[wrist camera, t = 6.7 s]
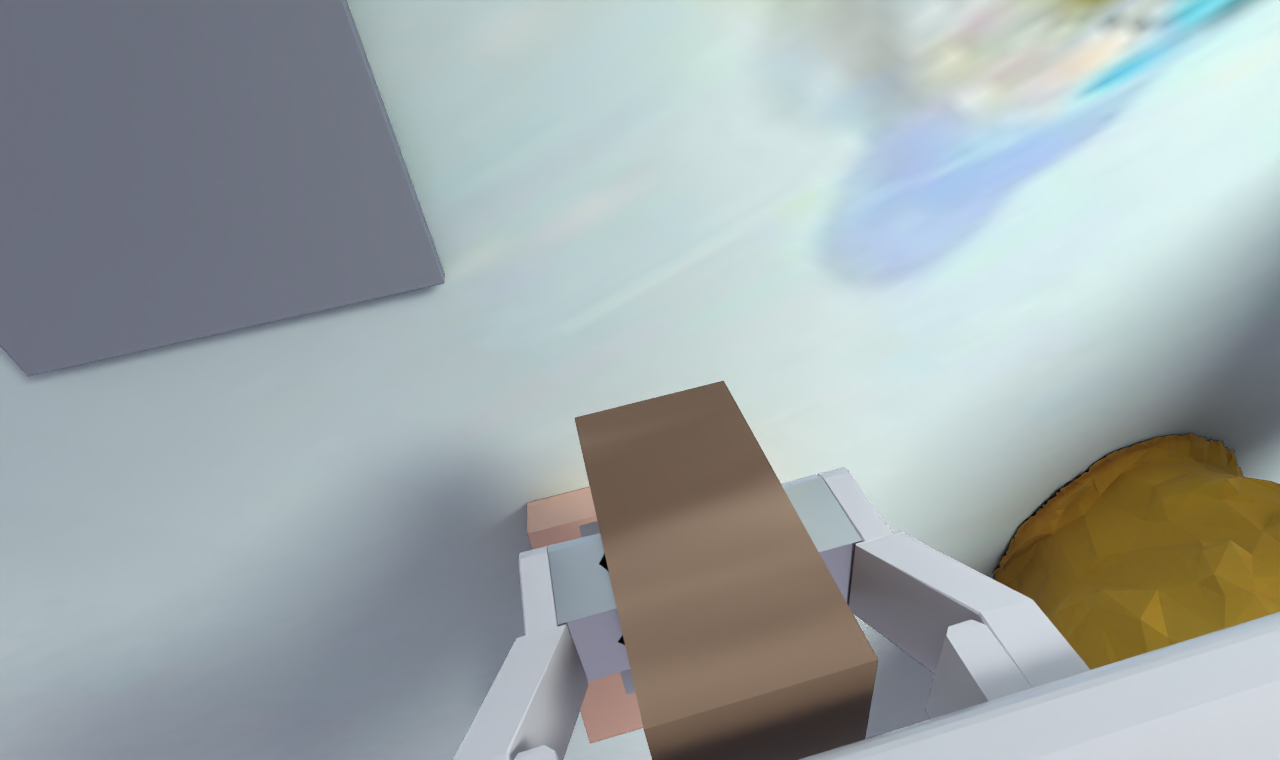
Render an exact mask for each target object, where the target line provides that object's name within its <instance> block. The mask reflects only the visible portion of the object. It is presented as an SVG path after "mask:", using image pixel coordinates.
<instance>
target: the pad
mask: <svg viewBox="0 0 1280 760" xmlns="http://www.w3.org/2000/svg"><path fill="white" fill-rule="evenodd" d="M444 277H445V274H444V271H443V268H442V266H441V263H440V260H439V257H438V254H437V252H436V249H435V246H434V243H433V241H432V238H431V235H430V232H429V229H428V227H427V224H426V221H425V218H424V216H423V213H422V210H421V207H420V204H419V202H418V199H417V196H416V193H415V191H414V188H413V185H412V182H411V179H410V177H409V174H408V171H407V168H406V166H405V163H404V160H403V157H402V155H401V152H400V149H399V146H398V143H397V141H396V138H395V135H394V132H393V130H392V127H391V124H390V121H389V118H388V116H387V113H386V110H385V107H384V105H383V102H382V99H381V96H380V93H379V91H378V88H377V85H376V82H375V80H374V77H373V74H372V71H371V68H370V66H369V63H368V60H367V57H366V55H365V52H364V49H363V46H362V43H361V41H360V38H359V35H358V32H357V30H356V27H355V24H354V21H353V18H352V16H351V13H350V10H349V7H348V5H347V2H346V0H0V346H1V347H2V348H3V349H4V350H5V351H6V352H7V353H8V355H9V356H10V357H11V358H12V359H13V360H14V361H15V362H16V363H17V365H18V366H19V367H20V368H21V369H22V370H23V371H24V372H25V373H26V374H27V376H33V375H37V374H42V373H46V372H51V371H55V370H59V369H64V368H68V367H73V366H77V365H82V364H86V363H91V362H95V361H100V360H104V359H108V358H113V357H117V356H122V355H126V354H131V353H135V352H140V351H144V350H149V349H153V348H157V347H162V346H166V345H171V344H175V343H180V342H184V341H189V340H193V339H198V338H202V337H206V336H211V335H215V334H220V333H224V332H229V331H233V330H238V329H242V328H247V327H251V326H255V325H260V324H264V323H269V322H273V321H278V320H282V319H287V318H291V317H296V316H300V315H304V314H309V313H313V312H318V311H322V310H327V309H331V308H336V307H340V306H345V305H349V304H354V303H358V302H362V301H367V300H371V299H376V298H380V297H385V296H389V295H394V294H398V293H403V292H407V291H411V290H416V289H420V288H425V287H429V286H434V285H438V284H443V283H444Z"/></svg>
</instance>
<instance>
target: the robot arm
mask: <svg viewBox="0 0 1280 760" xmlns="http://www.w3.org/2000/svg"><path fill="white" fill-rule="evenodd" d="M781 485H782V487H783V489H784V491H785V492H786V494H787V496H788V498H789V500H790V501H791V503H792V505H793V507H794V509H795V510H796V512H797V514H798V516H799V518H800V519H801V521H802V523H803V525H804V527H805V528H806V530H807V532H808V534H809V536H810V537H811V539H812V541H813V543H814V545H815V546H816V548H817V550H818V552H819V554H820V555H821V557H822V559H823V561H824V563H825V564H826V566H827V568H828V570H829V572H830V573H831V575H832V577H833V579H834V581H835V583H836V584H837V586H838V588H839V590H840V592H841V593H842V595H843V597H844V599H845V601H846V602H847V604H848V606H849V608H850V610H851V611H852V613H853V614H855V615H856V616H857V617H859V618H860V619H861V620H863V621H864V622H865V623H867V624H868V625H869V626H871V627H872V628H873V629H875V630H876V631H877V632H879V633H880V634H881V635H883V636H884V637H885V638H887V639H888V640H889V641H891V642H892V643H893V644H895V645H896V646H897V647H899V648H900V649H902V650H903V651H904V652H906V653H907V654H908V655H910V656H911V657H912V658H914V659H915V660H916V661H918V662H919V663H920V664H922V665H923V666H924V667H926V668H927V669H928V670H930V671H931V672H932V673H934V674H935V676H934V679H933V683H932V686H931V690H930V693H929V697H928V700H927V704H926V707H925V711H926V712H927V714H928V716H929V718H930V719H929V720H926V721H922V722H919V723H916V724H913V725H909V726H906V727H903V728H900V729H896V730H893V731H890V732H887V733H883V734H880V735H877V736H874V737H870V738H867V739H864V740H861V741H857V742H854V743H851V744H848V745H844V746H841V747H838V748H835V749H831V750H828V751H825V752H822V753H818V754H815V755H812V756H809V757H805V758H802V759H799V760H1280V612H1277V613H1274V614H1271V615H1267V616H1264V617H1261V618H1258V619H1254V620H1251V621H1248V622H1245V623H1241V624H1238V625H1235V626H1232V627H1228V628H1225V629H1222V630H1218V631H1215V632H1212V633H1209V634H1205V635H1202V636H1199V637H1196V638H1192V639H1189V640H1186V641H1183V642H1179V643H1176V644H1173V645H1170V646H1166V647H1163V648H1160V649H1157V650H1153V651H1150V652H1147V653H1144V654H1140V655H1137V656H1134V657H1131V658H1127V659H1124V660H1121V661H1118V662H1114V663H1111V664H1108V665H1105V666H1101V667H1098V668H1095V669H1092V670H1090V669H1089V667H1088V666H1087V665H1086V664H1085V662H1084V661H1083V660H1082V659H1081V658H1080V656H1079V655H1078V654H1077V653H1076V652H1075V650H1074V649H1073V648H1072V647H1071V645H1070V644H1069V643H1068V642H1067V641H1066V639H1065V638H1064V637H1063V636H1062V635H1061V633H1060V632H1059V631H1058V630H1057V628H1056V627H1055V626H1054V625H1053V624H1052V622H1051V621H1050V620H1049V619H1048V617H1047V616H1046V615H1045V614H1044V613H1043V611H1042V610H1041V609H1040V608H1039V607H1038V605H1037V604H1036V603H1035V602H1034V600H1032V599H1030V598H1029V597H1027V596H1025V595H1023V594H1021V593H1019V592H1017V591H1015V590H1013V589H1011V588H1009V587H1007V586H1005V585H1003V584H1001V583H999V582H997V581H996V580H994V579H992V578H990V577H988V576H986V575H984V574H982V573H980V572H978V571H976V570H974V569H972V568H970V567H968V566H966V565H965V564H963V563H961V562H959V561H957V560H955V559H953V558H951V557H949V556H947V555H945V554H943V553H941V552H939V551H937V550H935V549H933V548H932V547H930V546H928V545H926V544H924V543H922V542H920V541H918V540H916V539H914V538H912V537H910V536H908V535H906V534H904V533H902V532H901V531H900V532H896V533H892V532H891V530H890V529H889V527H888V526H887V524H886V523H885V522H884V520H883V519H882V517H881V516H880V514H879V513H878V512H877V510H876V509H875V507H874V506H873V504H872V503H871V502H870V500H869V499H868V497H867V496H866V494H865V493H864V491H863V490H862V489H861V487H860V486H859V484H858V483H857V481H856V480H855V479H854V477H853V476H852V474H851V473H850V471H849V470H847V469H846V468H844V467H843V468H840V469H836V470H832V471H828V472H824V473H821V474H818V475H811V476H808V477H804V478H801V479H797V480H793V481H790V482H786V483H783V484H781ZM518 564H519V575H520V587H521V599H522V611H523V622H524V634H525V635H524V636H521V637H518V638H516V640H515V641H514V643H513V645H512V647H511V649H510V651H509V653H508V655H507V657H506V659H505V661H504V662H503V664H502V666H501V668H500V670H499V672H498V674H497V676H496V678H495V680H494V682H493V683H492V685H491V687H490V689H489V691H488V693H487V695H486V697H485V699H484V701H483V703H482V704H481V706H480V708H479V710H478V712H477V714H476V716H475V718H474V720H473V722H472V724H471V725H470V727H469V729H468V731H467V733H466V735H465V737H464V739H463V741H462V743H461V745H460V746H459V748H458V750H457V752H456V754H455V756H454V758H453V760H563V758H564V756H565V753H566V750H567V747H568V744H569V741H570V738H571V735H572V732H573V729H574V726H575V723H576V720H577V718H578V715H579V712H580V709H581V706H582V703H583V700H584V697H585V694H586V691H587V688H588V682H590V681H593V680H596V679H599V678H602V677H606V676H609V675H612V674H615V673H618V672H621V671H625V670H628V669H630V665H629V660H628V656H627V651H626V647H625V642H624V638H623V633H622V629H621V624H620V620H619V615H618V611H617V606H616V602H615V597H614V593H613V588H612V584H611V579H610V575H609V570H608V566H607V561H606V557H605V552H604V548H603V543H602V539H601V534H600V533H599V534H595V535H590V536H586V537H582V538H578V539H574V540H569V541H565V542H561V543H557V544H553V545H548V546H545V547H541V548H537V549H533V550H529V551H525V552H521V553H520V554H519V560H518Z"/></svg>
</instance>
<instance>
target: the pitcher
mask: <svg viewBox="0 0 1280 760" xmlns="http://www.w3.org/2000/svg"><path fill="white" fill-rule="evenodd" d="M1205 439H1206V437H1200V438H1199V437H1198V436H1196V435H1194V434H1190V433H1189V434H1186V435H1184V436H1182V435H1180V434H1178V435H1174V434H1173V435H1168V436H1164V437H1155V438H1153V439H1150V440H1148V441H1146V442H1145V441H1144V442H1141V443H1137V444H1135V445H1133V446H1131V447H1124V448H1123V449H1121V450H1119V451H1114V452H1113V453H1112V454H1108V455H1107V456H1106V457H1105V458H1102V459H1100V460H1099V461H1097V462H1095V463H1094V464H1093V465H1092V466H1090V469H1089V472H1084V473H1083V474H1082V475H1081V476H1080V477H1079V478H1077V479H1075V480H1074V481H1072V482H1070V483H1069V485H1067V486H1066V487H1063V488H1061V489H1060V491H1061V492H1059V493H1056V495H1057V496H1055V497H1053V498H1051V499H1050V500H1048V502H1047V504H1046V505H1043V508H1039V511H1036V515H1035V516H1031V517H1030V518H1029V519H1028V520H1027V521H1025V522H1024V523H1023V524H1022V525H1021V526H1020V527H1019V529H1018V530H1017V533H1016V534H1015V535H1014V537H1015V538H1012V539H1011V542H1010V545H1009V551H1007V552H1006V556H1003V557H1002V560H1001V561H1000V562H999V565H1000V567H999V568H997V569H996V570H994V572H993V573H994V574H996V575H995V577H994V579H995V580H996V581H997V582H999V583H1001V584H1003V585H1005V586H1007V587H1009V588H1011V589H1013V590H1015V591H1017V592H1019V593H1021V594H1023V595H1025V596H1027V597H1029V598H1030V599H1032V600H1034V602H1035V603H1036V604H1037V605H1038V607H1039V608H1040V609H1041V610H1042V611H1043V613H1044V614H1045V615H1046V616H1047V617H1048V619H1049V620H1050V621H1051V622H1052V624H1053V625H1054V626H1055V627H1056V628H1057V630H1058V631H1059V632H1060V633H1061V635H1062V636H1063V637H1064V638H1065V639H1066V641H1067V642H1068V643H1069V644H1070V645H1071V647H1072V648H1073V649H1074V650H1075V652H1076V653H1077V654H1078V655H1079V656H1080V658H1081V659H1082V660H1083V661H1084V662H1085V664H1086V665H1087V666H1088V667H1089V669H1090V670H1092V669H1095V668H1098V667H1101V666H1105V665H1108V664H1111V663H1114V662H1118V661H1121V660H1124V659H1127V658H1131V657H1134V656H1137V655H1140V654H1144V653H1147V652H1150V651H1153V650H1157V649H1160V648H1163V647H1166V646H1170V645H1173V644H1176V643H1179V642H1183V641H1186V640H1189V639H1192V638H1196V637H1199V636H1202V635H1205V634H1209V633H1212V632H1215V631H1218V630H1222V629H1225V628H1228V627H1232V626H1235V625H1238V624H1241V623H1245V622H1248V621H1251V620H1254V619H1258V618H1261V617H1264V616H1267V615H1271V614H1274V613H1277V612H1280V484H1277V483H1274V482H1272V481H1266V480H1259V479H1253V478H1246V477H1243V474H1242V471H1241V468H1240V467H1238V465H1237V461H1236V457H1235V456H1234V450H1233V449H1232V450H1231V451H1230V450H1229V449H1227V448H1226V447H1224V442H1223V441H1221V442H1219V441H1218V440H1217V442H1214V441H1213V440H1211V439H1210V442H1209V441H1206V440H1205Z"/></svg>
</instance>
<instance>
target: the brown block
mask: <svg viewBox="0 0 1280 760" xmlns="http://www.w3.org/2000/svg"><path fill="white" fill-rule="evenodd" d="M575 422H576V426H577V431H578V435H579V440H580V444H581V449H582V453H583V458H584V462H585V467H586V471H587V476H588V480H589V485H590V489H591V494H592V498H593V503H594V507H595V512H596V516H597V521H595V522H591V523H587V524H584V525H580V526H579V528H580V533H581V538H582V537H586V536H590V535H595V534H599V533H600V534H601V539H602V543H603V548H604V552H605V557H606V561H607V566H608V570H609V575H610V579H611V584H612V588H613V593H614V597H615V602H616V606H617V611H618V615H619V620H620V624H621V629H622V633H623V638H624V642H625V647H626V651H627V656H628V660H629V665H630V669H628V670H625V671H621V672H620V674H621V678H622V681H623V684H624V688H625V691H626V694H630V693H634V692H636V696H637V701H638V705H639V710H640V714H641V719H642V723H643V728H644V732H645V735H646V739H647V742H648V746H649V749H650V753H651V756H652V760H799V759H802V758H805V757H809V756H812V755H815V754H818V753H822V752H825V751H828V750H831V749H835V748H838V747H841V746H844V745H848V744H851V743H854V742H857V741H861V740H864V739H865V736H866V730H867V724H868V718H869V712H870V706H871V700H872V694H873V688H874V682H875V676H876V670H877V664H878V658H877V656H876V655H875V653H874V651H873V649H872V647H871V646H870V644H869V642H868V640H867V638H866V637H865V635H864V633H863V631H862V629H861V628H860V626H859V624H858V622H857V620H856V619H855V617H854V615H853V613H852V611H851V610H850V608H849V606H848V604H847V602H846V601H845V599H844V597H843V595H842V593H841V592H840V590H839V588H838V586H837V584H836V583H835V581H834V579H833V577H832V575H831V573H830V572H829V570H828V568H827V566H826V564H825V563H824V561H823V559H822V557H821V555H820V554H819V552H818V550H817V548H816V546H815V545H814V543H813V541H812V539H811V537H810V536H809V534H808V532H807V530H806V528H805V527H804V525H803V523H802V521H801V519H800V518H799V516H798V514H797V512H796V510H795V509H794V507H793V505H792V503H791V501H790V500H789V498H788V496H787V494H786V492H785V491H784V489H783V487H782V485H781V483H780V482H779V480H778V478H777V476H776V474H775V472H774V471H773V469H772V467H771V465H770V463H769V462H768V460H767V458H766V456H765V454H764V453H763V451H762V449H761V447H760V445H759V444H758V442H757V440H756V438H755V436H754V435H753V433H752V431H751V429H750V427H749V426H748V424H747V422H746V420H745V418H744V417H743V415H742V413H741V411H740V409H739V408H738V406H737V404H736V402H735V400H734V399H733V397H732V395H731V393H730V391H729V390H728V388H727V386H726V384H725V382H724V381H721V382H717V383H713V384H709V385H705V386H701V387H697V388H692V389H688V390H684V391H680V392H676V393H672V394H668V395H664V396H660V397H656V398H652V399H648V400H644V401H640V402H636V403H632V404H628V405H624V406H620V407H616V408H612V409H608V410H604V411H600V412H596V413H592V414H588V415H584V416H580V417H576V418H575Z"/></svg>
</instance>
